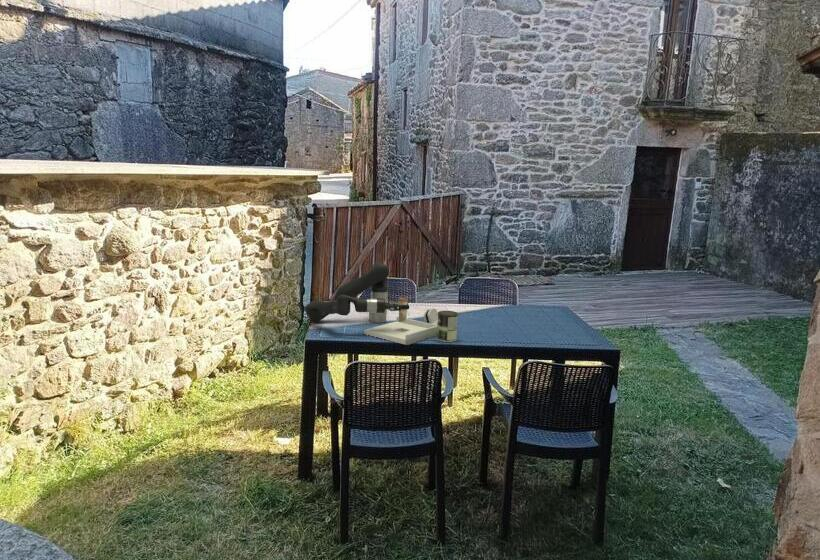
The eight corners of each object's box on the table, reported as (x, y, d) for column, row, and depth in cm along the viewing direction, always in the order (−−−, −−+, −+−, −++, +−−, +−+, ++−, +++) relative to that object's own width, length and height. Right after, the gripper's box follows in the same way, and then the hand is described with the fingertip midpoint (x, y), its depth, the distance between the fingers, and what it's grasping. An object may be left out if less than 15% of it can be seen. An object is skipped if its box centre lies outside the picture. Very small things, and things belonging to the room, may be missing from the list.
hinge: (435, 328, 347) (429, 311, 346) (427, 330, 348) (421, 313, 348) (442, 322, 362) (437, 305, 362) (435, 324, 364) (430, 307, 363)
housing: (364, 334, 328) (364, 325, 327) (397, 325, 350) (398, 316, 350) (407, 345, 312) (407, 335, 311) (439, 334, 334) (439, 325, 333)
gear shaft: (397, 320, 330) (397, 298, 327) (401, 319, 333) (402, 297, 330) (403, 322, 327) (403, 300, 324) (408, 320, 330) (408, 298, 328)
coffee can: (436, 341, 320) (438, 314, 318) (436, 336, 330) (437, 310, 328) (457, 342, 320) (458, 315, 318) (456, 337, 330) (457, 311, 328)
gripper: (374, 309, 334) (406, 310, 336) (376, 315, 320) (410, 316, 322) (374, 295, 332) (407, 296, 335) (377, 301, 319) (410, 302, 321)
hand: (408, 306), depth 329 cm, fingers closed on gear shaft, 4 cm apart
